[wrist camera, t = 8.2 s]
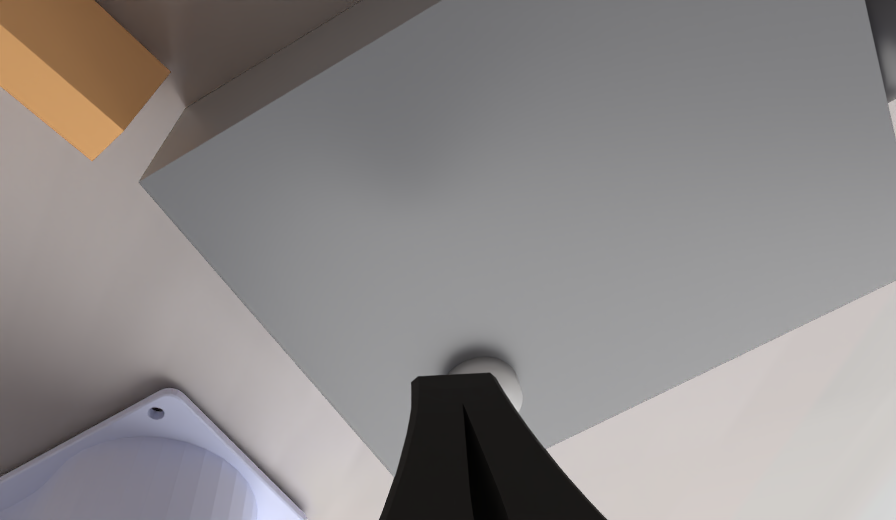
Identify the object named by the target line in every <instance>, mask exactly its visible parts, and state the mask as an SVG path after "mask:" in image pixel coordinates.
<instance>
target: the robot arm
mask: <svg viewBox="0 0 896 520" xmlns="http://www.w3.org/2000/svg"><path fill="white" fill-rule="evenodd" d="M153 407H157V408H160V409H162V410H163V411H161V412H159V411H155V410H153V409H152V408H153ZM0 520H307V516H306V515H305V514H304V513H303V512H302V511H301V510H300V509H299V508H298V507H297V506H296V505H295V504H294V503H293V502H292V501H291V500H290V499H289V498H288V497H287V496H286V495H285V494H284V493H283V492H282V491H281V490H280V489H279V488H278V487H277V486H276V485H275V484H274V483H273V482H272V481H271V480H270V479H269V478H268V477H267V476H266V475H265V474H264V473H263V472H262V471H261V470H260V469H259V468H258V467H257V466H256V465H255V464H254V463H253V462H252V461H251V460H250V459H249V458H248V457H247V456H246V455H245V454H244V453H243V452H242V451H241V450H240V449H239V448H238V447H237V446H236V445H235V444H234V443H233V442H232V441H231V440H230V439H229V438H228V437H227V436H226V435H225V434H224V433H223V432H222V431H221V430H220V429H219V428H218V427H217V426H216V425H215V424H214V423H213V422H212V421H211V420H210V419H209V418H208V417H207V416H206V415H205V414H204V413H203V412H202V411H201V410H200V409H199V408H198V407H197V406H196V405H195V404H194V403H193V402H192V401H191V400H190V399H189V398H188V397H187V396H186V395H185V394H184V393H182V392H181V391H179V390H177V389H174V388H165V389H162V390H160V391H158V392H156V393H154V394H152V395H150V396H149V397H147V398H145V399H143V400H141V401H139V402H138V403H136V404H134V405H132V406H130V407H128V408H126V409H125V410H123V411H121V412H119V413H117V414H115V415H114V416H112V417H110V418H108V419H106V420H104V421H103V422H101V423H99V424H97V425H95V426H93V427H92V428H90V429H88V430H86V431H84V432H82V433H80V434H79V435H77V436H75V437H73V438H71V439H69V440H68V441H66V442H64V443H62V444H60V445H58V446H57V447H55V448H53V449H51V450H49V451H47V452H46V453H44V454H42V455H40V456H38V457H36V458H34V459H33V460H31V461H29V462H27V463H25V464H23V465H22V466H20V467H18V468H16V469H14V470H12V471H11V472H9V473H7V474H5V475H3V476H1V477H0ZM379 520H607V519H606V518H605V517H604V516H603V515H602V514H601V513H600V512H599V511H598V510H597V509H596V507H595V506H594V505H593V504H592V503H591V502H590V501H589V500H588V499H587V498H586V497H585V496H584V494H583V493H582V492H581V491H580V490H579V489H578V488H577V487H576V485H575V484H574V483H573V482H572V481H571V480H570V479H569V478H568V476H567V475H566V474H565V473H564V472H563V470H562V469H561V468H560V467H559V466H558V464H557V463H556V462H555V461H554V459H553V458H552V457H551V456H550V454H549V453H548V452H547V451H546V449H545V448H544V447H543V445H542V444H541V443H540V442H539V440H538V439H537V438H536V436H535V435H534V434H533V432H532V431H531V430H530V428H529V427H528V426H527V424H526V423H525V421H524V420H523V419H522V417H521V416H520V414H519V413H518V412H517V410H516V409H515V407H514V406H513V404H512V403H511V401H510V400H509V398H508V397H507V395H506V393H505V392H504V390H503V389H502V387H501V385H500V384H499V382H498V380H497V379H496V377H495V376H493V375H492V374H491V373H490V372H489V373H470V374H451V375H432V376H418V377H416V378H415V379H414V380H413V381H412V382H411V412H410V418H409V423H408V429H407V434H406V438H405V442H404V445H403V449H402V453H401V457H400V460H399V464H398V468H397V471H396V474H395V477H394V480H393V483H392V486H391V488H390V491H389V494H388V497H387V500H386V503H385V506H384V508H383V511H382V514H381V516H380V519H379Z"/></svg>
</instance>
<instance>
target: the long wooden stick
mask: <svg viewBox="0 0 896 520" xmlns="http://www.w3.org/2000/svg"><path fill="white" fill-rule="evenodd" d="M170 73H171V72H170V71H169V70H168V69H167V68H166V67H165V66H164V65H163V64H162V63H161V62H160V61H159V60H158V59H156V58H155V57H154V56H153V55H152V54H151V53H150V52H149V51H148V50H147V49H146V48H145V47H144V46H143V45H141V44H140V43H139V42H138V41H137V40H136V39H135V38H134V37H133V36H132V35H131V34H130V33H129V32H128V31H127V30H125V29H124V28H123V27H122V26H121V25H120V24H119V23H118V22H117V21H116V20H115V19H114V18H113V17H112V16H110V15H109V14H108V13H107V12H106V11H105V10H104V9H103V8H102V7H101V6H100V5H99V4H98V3H97V2H96V1H94V0H0V86H1V87H2V88H3V89H4V90H6V91H7V92H8V93H9V94H10V95H12V96H13V97H14V98H15V99H17V100H18V101H19V102H20V103H21V104H23V105H24V106H25V107H26V108H28V109H29V110H30V111H31V112H32V113H34V114H35V115H36V116H37V117H39V118H40V119H41V120H42V121H43V122H45V123H46V124H47V125H48V126H50V127H51V128H52V129H53V130H54V131H56V132H57V133H58V134H59V135H61V136H62V137H63V138H64V139H65V140H67V141H68V142H69V143H70V144H72V145H73V146H74V147H75V148H76V149H78V150H79V151H80V152H81V153H83V154H84V155H85V156H86V157H87V158H89V159H90V160H91V161H93V160H94V159H95V158H96V157H97V156H98V155H99V154H100V153H101V152H102V151H103V150H104V149H105V148H106V147H108V146H109V145H110V144H111V143H112V142H113V141H114V140H115V139H116V138H117V137H118V136H119V135H120V134H121V133H122V132H123V131H124V130H125V129H126V127H127V126H128V125H129V124H130V122H131V121H132V120H133V119H134V117H135V116H136V115H137V114H138V112H139V111H140V110H141V109H142V108H143V106H144V105H145V104H146V103H147V101H148V100H149V99H150V98H151V96H152V95H153V94H154V93H155V91H156V90H157V89H158V88H159V86H160V85H161V84H162V83H163V81H164V80H165V79H166V78H167V76H168V75H169V74H170Z"/></svg>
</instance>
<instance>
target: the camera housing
mask: <svg viewBox="0 0 896 520" xmlns="http://www.w3.org/2000/svg"><path fill="white" fill-rule="evenodd" d="M894 99H896V0H362V1H361V2H359V3H357V4H356V5H354V6H352V7H351V8H349V9H347V10H346V11H344V12H342V13H341V14H339V15H338V16H336V17H334V18H333V19H331V20H329V21H328V22H326V23H324V24H323V25H321V26H320V27H318V28H316V29H315V30H313V31H311V32H310V33H308V34H306V35H305V36H303V37H302V38H300V39H298V40H297V41H295V42H293V43H292V44H290V45H288V46H287V47H285V48H284V49H282V50H280V51H279V52H277V53H275V54H274V55H272V56H270V57H269V58H267V59H266V60H264V61H262V62H261V63H259V64H257V65H256V66H254V67H252V68H251V69H249V70H248V71H246V72H244V73H243V74H241V75H239V76H238V77H236V78H234V79H233V80H231V81H229V82H228V83H226V84H225V85H223V86H221V87H220V88H218V89H216V90H215V91H213V92H211V93H210V94H208V95H207V96H205V97H203V98H202V99H200V100H198V101H197V102H195V103H193V104H192V105H190V106H189V107H187V108H185V110H184V111H183V113H182V115H181V116H180V118H179V119H178V121H177V122H176V124H175V126H174V127H173V129H172V130H171V132H170V133H169V135H168V137H167V138H166V140H165V141H164V143H163V144H162V146H161V148H160V149H159V151H158V152H157V154H156V155H155V157H154V159H153V160H152V162H151V163H150V165H149V166H148V168H147V170H146V171H145V173H144V174H143V176H142V177H141V179H140V181H139V183H140V185H141V186H142V187H143V188H144V189H145V190H146V192H147V193H148V194H149V195H150V196H151V197H152V198H153V200H154V201H155V202H156V203H157V204H158V205H159V207H160V208H161V209H162V210H163V211H164V212H165V213H166V215H167V216H168V217H169V218H170V219H171V220H172V222H173V223H174V224H175V225H176V226H177V227H178V228H179V230H180V231H181V232H182V233H183V234H184V235H185V237H186V238H187V239H188V240H189V241H190V242H191V243H192V245H193V246H194V247H195V248H196V249H197V250H198V252H199V253H200V254H201V255H202V256H203V257H204V258H205V260H206V261H207V262H208V263H209V264H210V265H211V267H212V268H213V269H214V270H215V271H216V272H217V273H218V275H219V276H220V277H221V278H222V279H223V280H224V282H225V283H226V284H227V285H228V286H229V287H230V288H231V290H232V291H233V292H234V293H235V294H236V295H237V297H238V298H239V299H240V300H241V301H242V302H243V303H244V305H245V306H246V307H247V308H248V309H249V310H250V312H251V313H252V314H253V315H254V316H255V317H256V318H257V320H258V321H259V322H260V323H261V324H262V325H263V327H264V328H265V329H266V330H267V331H268V332H269V333H270V335H271V336H272V337H273V338H274V339H275V340H276V342H277V343H278V344H279V345H280V346H281V347H282V348H283V350H284V351H285V352H286V353H287V354H288V355H289V357H290V358H291V359H292V360H293V361H294V362H295V363H296V365H297V366H298V367H299V368H300V369H301V370H302V372H303V373H304V374H305V375H306V376H307V377H308V378H309V380H310V381H311V382H312V383H313V384H314V385H315V387H316V388H317V389H318V390H319V391H320V392H321V393H322V395H323V396H324V397H325V398H326V399H327V400H328V402H329V403H330V404H331V405H332V406H333V407H334V409H335V410H336V411H337V412H338V413H339V414H340V415H341V417H342V418H343V419H344V420H345V421H346V422H347V424H348V425H349V426H350V427H351V428H352V429H353V430H354V432H355V433H356V434H357V435H358V436H359V437H360V439H361V440H362V441H363V442H364V443H365V444H366V445H367V447H368V448H369V449H370V450H371V451H372V452H373V454H374V455H375V456H376V457H377V458H378V459H379V460H380V462H381V463H382V464H383V465H384V466H385V467H386V469H387V470H388V471H389V472H390V473H391V474H392V475H393V477H395V474H396V471H397V468H398V464H399V460H400V457H401V453H402V449H403V445H404V442H405V438H406V434H407V429H408V423H409V418H410V412H411V382H412V381H413V380H414V379H415V378H416V377H418V376H432V375H451V374H470V373H489V372H490V373H491V374H492V375H493V376H495V377H496V379H497V380H498V382H499V384H500V385H501V387H502V389H503V390H504V392H505V393H506V395H507V397H508V398H509V400H510V401H511V403H512V404H513V406H514V407H515V409H516V410H517V412H518V413H519V414H520V416H521V417H522V419H523V420H524V421H525V423H526V424H527V426H528V427H529V428H530V430H531V431H532V432H533V434H534V435H535V436H536V438H537V439H538V440H539V442H540V443H541V444H542V445H543V447H544V448H545V449H547V448H549V447H551V446H553V445H555V444H557V443H559V442H562V441H564V440H566V439H568V438H570V437H572V436H574V435H576V434H578V433H580V432H582V431H584V430H586V429H589V428H591V427H593V426H595V425H597V424H599V423H601V422H603V421H605V420H607V419H609V418H611V417H613V416H616V415H618V414H620V413H622V412H624V411H626V410H628V409H630V408H632V407H634V406H636V405H638V404H640V403H642V402H645V401H647V400H649V399H651V398H653V397H655V396H657V395H659V394H661V393H663V392H665V391H667V390H669V389H672V388H674V387H676V386H678V385H680V384H682V383H684V382H686V381H688V380H690V379H692V378H694V377H696V376H699V375H701V374H703V373H705V372H707V371H709V370H711V369H713V368H715V367H717V366H719V365H721V364H723V363H726V362H728V361H730V360H732V359H734V358H736V357H738V356H740V355H742V354H744V353H746V352H748V351H750V350H753V349H755V348H757V347H759V346H761V345H763V344H765V343H767V342H769V341H771V340H773V339H775V338H777V337H780V336H782V335H784V334H786V333H788V332H790V331H792V330H794V329H796V328H798V327H800V326H802V325H804V324H807V323H809V322H811V321H813V320H815V319H817V318H819V317H821V316H823V315H825V314H827V313H829V312H831V311H834V310H836V309H838V308H840V307H842V306H844V305H846V304H848V303H850V302H852V301H854V300H856V299H858V298H861V297H863V296H865V295H867V294H869V293H871V292H873V291H875V290H877V289H879V288H881V287H883V286H885V285H888V284H890V283H892V282H894V281H896V138H895V134H894V129H893V125H892V120H891V116H890V111H889V107H888V103H889V102H891V101H893V100H894Z"/></svg>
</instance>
